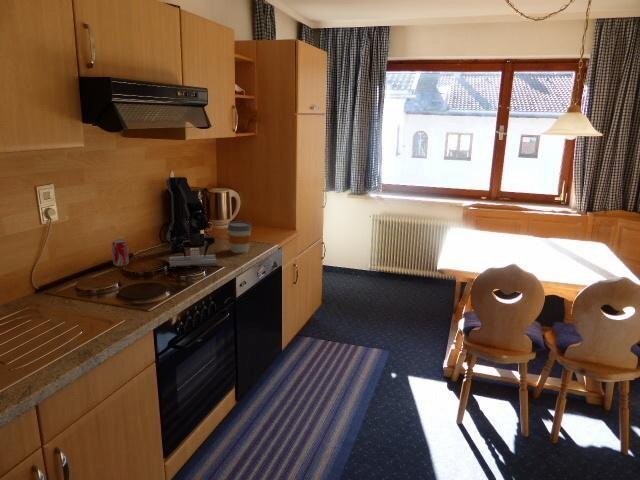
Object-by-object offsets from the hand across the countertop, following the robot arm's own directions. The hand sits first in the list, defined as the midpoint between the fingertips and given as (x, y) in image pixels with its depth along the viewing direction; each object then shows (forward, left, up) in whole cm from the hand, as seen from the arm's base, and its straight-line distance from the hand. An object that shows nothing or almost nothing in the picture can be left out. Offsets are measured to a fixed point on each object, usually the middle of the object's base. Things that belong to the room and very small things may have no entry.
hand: (194, 257), depth 230 cm
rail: (0, -1, -4) cm, 4 cm away
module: (0, 0, -2) cm, 2 cm away
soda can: (-5, -34, -4) cm, 35 cm away
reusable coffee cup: (-20, +25, -4) cm, 32 cm away
